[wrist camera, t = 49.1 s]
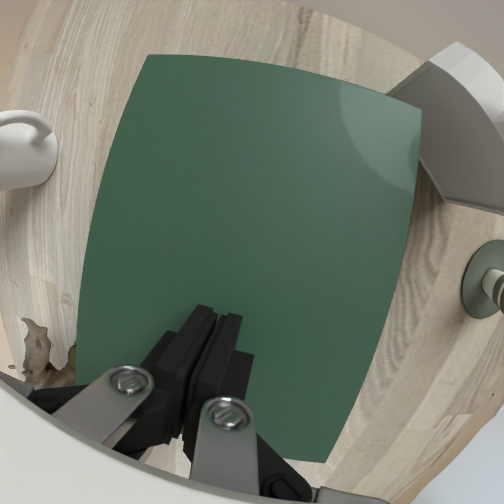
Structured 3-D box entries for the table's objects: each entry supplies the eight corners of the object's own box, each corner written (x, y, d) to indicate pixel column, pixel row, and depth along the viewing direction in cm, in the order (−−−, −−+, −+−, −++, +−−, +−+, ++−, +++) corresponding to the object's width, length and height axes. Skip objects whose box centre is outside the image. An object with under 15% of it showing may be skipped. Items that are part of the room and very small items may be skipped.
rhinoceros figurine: (127, 451, 28) (27, 467, 15) (93, 359, 35) (-1, 345, 21) (166, 438, 27) (54, 461, 14) (126, 335, 33) (21, 314, 20)
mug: (28, 197, 24) (-61, 216, 12) (17, 142, 23) (-67, 145, 11) (90, 154, 22) (-18, 154, 10) (77, 93, 21) (-20, 69, 9)
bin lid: (323, 453, 11) (325, 463, 11) (83, 382, 12) (75, 388, 11) (415, 115, 11) (423, 109, 10) (153, 62, 11) (147, 54, 11)
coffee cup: (535, 225, 18) (566, 235, 13) (508, 334, 21) (531, 356, 16) (453, 208, 19) (486, 217, 15) (425, 340, 22) (446, 370, 18)
